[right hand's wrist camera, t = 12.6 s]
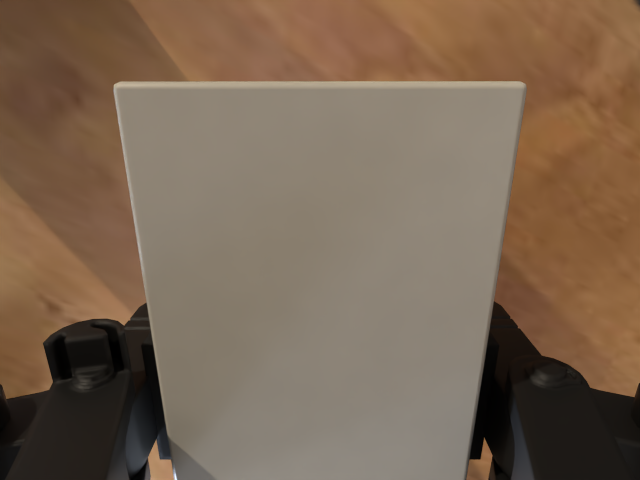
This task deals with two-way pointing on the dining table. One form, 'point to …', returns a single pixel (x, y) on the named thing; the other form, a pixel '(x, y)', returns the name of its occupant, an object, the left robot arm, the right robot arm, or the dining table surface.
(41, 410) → the right robot arm
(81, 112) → the dining table surface
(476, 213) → the bar
